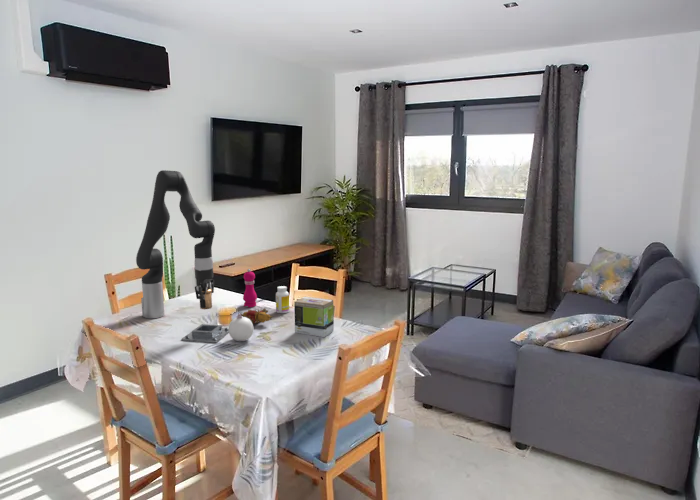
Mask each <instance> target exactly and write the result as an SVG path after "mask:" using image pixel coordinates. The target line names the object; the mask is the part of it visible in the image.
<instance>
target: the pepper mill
mask: <svg viewBox="0 0 700 500" xmlns="http://www.w3.org/2000/svg"><path fill="white" fill-rule="evenodd" d="M246 270H247V271H246V272H244V274H243V279H244V284H245V290H244V293H243V295H242V299H243V301H244V303H243V305H244V306H243V307H245V306H248V307H247V308H254V306H255V307H256V306H257V299H258V295H257V292H256V291H255V288H254V287H255V285H254V284H255V279H256V274H255V273H254V271H252V270H251V269H250V268H248V269H246Z"/></svg>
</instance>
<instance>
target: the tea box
mask: <svg viewBox="0 0 700 500" xmlns="http://www.w3.org/2000/svg"><path fill="white" fill-rule="evenodd" d="M293 305H294V306H293V307H294V333H295V334H296V333H297V334H303V335H310V336H316V337H322V338H325V337H326V336H328V335H329V334H331V333H333V332H334V328H335V327H334V326H335V325H334V322H335V321H334V313H335V312H334V311H335V310H334V308H335V307H334V299H331V298H330V299H329V298H320V297H311V296H303V297H301V298H298V299H296V300H295V301H294V303H293Z"/></svg>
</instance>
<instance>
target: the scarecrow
mask: <svg viewBox="0 0 700 500" xmlns="http://www.w3.org/2000/svg"><path fill="white" fill-rule="evenodd" d="M268 312H269V311H268V309H267V308H263V309H262V307H261V309H260V308H258V310H256V309H255V310H254V309H247V311H244V312H243V313H239V314H241V316H242V317H246V318H248V319H250V320H251V322H252V324H253V325H254V324H258V323H263V324H264V323H266V322H269V321H271V318H273V315H270V314H268ZM239 317H240V316H239Z"/></svg>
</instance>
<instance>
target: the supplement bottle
mask: <svg viewBox="0 0 700 500" xmlns="http://www.w3.org/2000/svg"><path fill="white" fill-rule="evenodd" d="M287 289H288V287H287V286H285V285H283V286H282V285H281V286H280V285H279V286H277V292H275V310H276V312H275V313H277V314H287V313H289V311H290V294H289V292H288V291H287Z"/></svg>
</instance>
